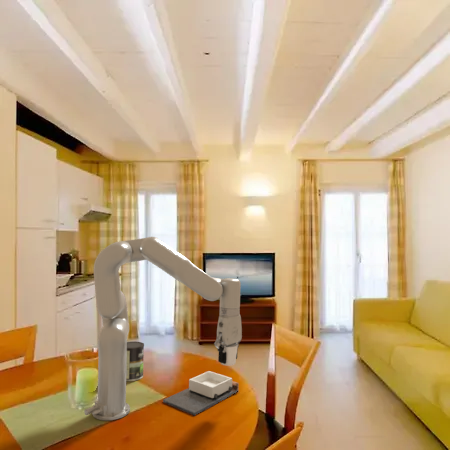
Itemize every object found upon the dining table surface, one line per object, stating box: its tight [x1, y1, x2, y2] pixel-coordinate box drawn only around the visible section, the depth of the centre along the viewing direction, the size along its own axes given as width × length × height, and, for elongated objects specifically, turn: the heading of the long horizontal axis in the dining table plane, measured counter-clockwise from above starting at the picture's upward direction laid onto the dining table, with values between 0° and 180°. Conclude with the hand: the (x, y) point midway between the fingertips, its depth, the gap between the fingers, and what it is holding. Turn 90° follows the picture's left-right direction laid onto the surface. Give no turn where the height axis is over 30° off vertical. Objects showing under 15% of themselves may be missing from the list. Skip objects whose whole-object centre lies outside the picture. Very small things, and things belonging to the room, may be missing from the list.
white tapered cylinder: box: [220, 342, 239, 367], centre depth 140 cm, size 7×7×7 cm
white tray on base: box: [188, 370, 233, 398], centre depth 150 cm, size 12×14×4 cm
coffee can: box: [126, 341, 145, 382], centre depth 165 cm, size 10×10×14 cm
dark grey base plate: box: [162, 380, 240, 416], centre depth 146 cm, size 26×16×4 cm, turn 142°
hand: (227, 360), depth 140 cm, fingers closed on white tapered cylinder, 6 cm apart
